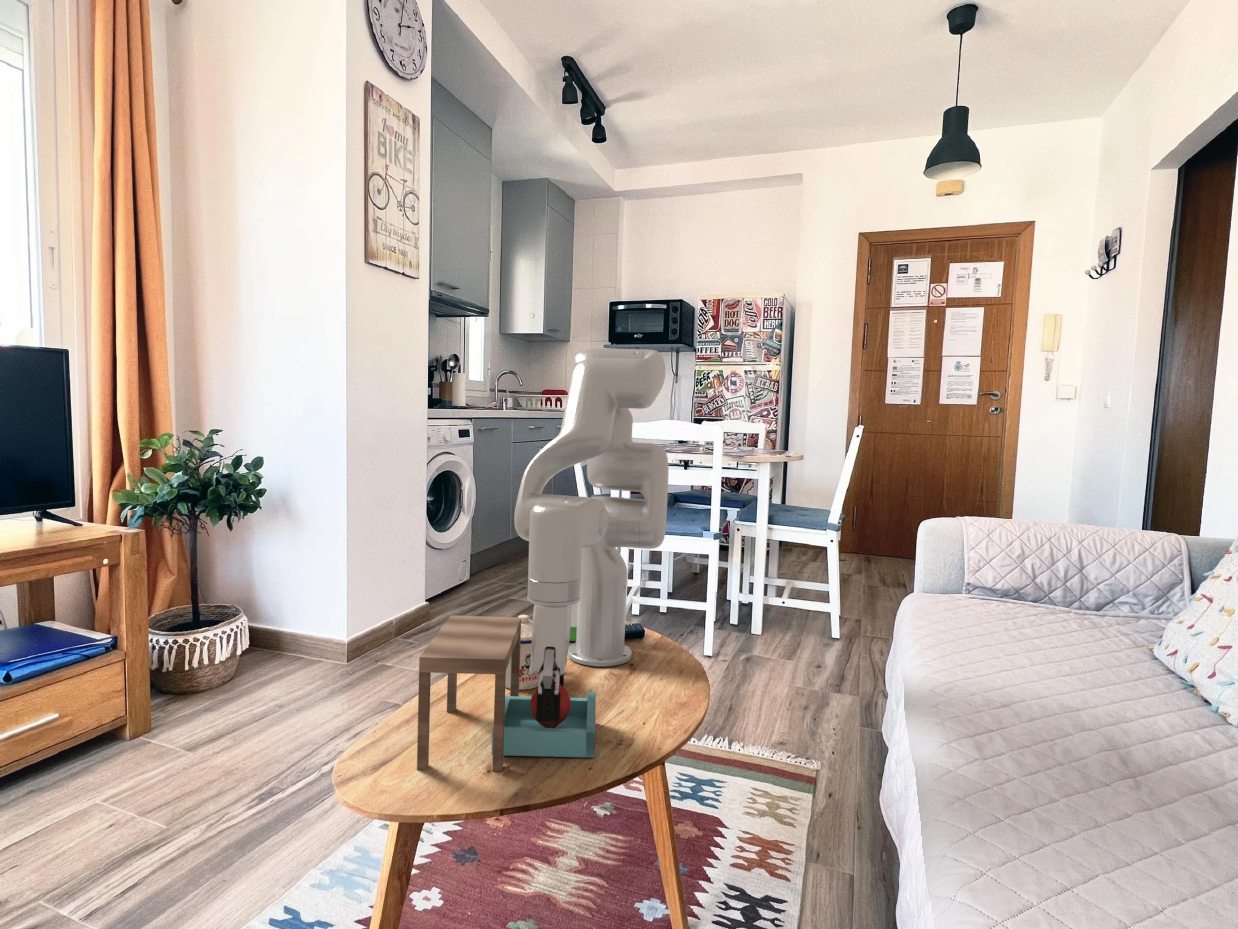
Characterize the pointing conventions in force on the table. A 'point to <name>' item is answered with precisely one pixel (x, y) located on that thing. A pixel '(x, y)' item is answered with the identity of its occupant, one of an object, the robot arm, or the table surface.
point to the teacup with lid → (524, 658)
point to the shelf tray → (549, 730)
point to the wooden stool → (470, 670)
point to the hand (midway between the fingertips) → (550, 705)
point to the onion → (564, 707)
